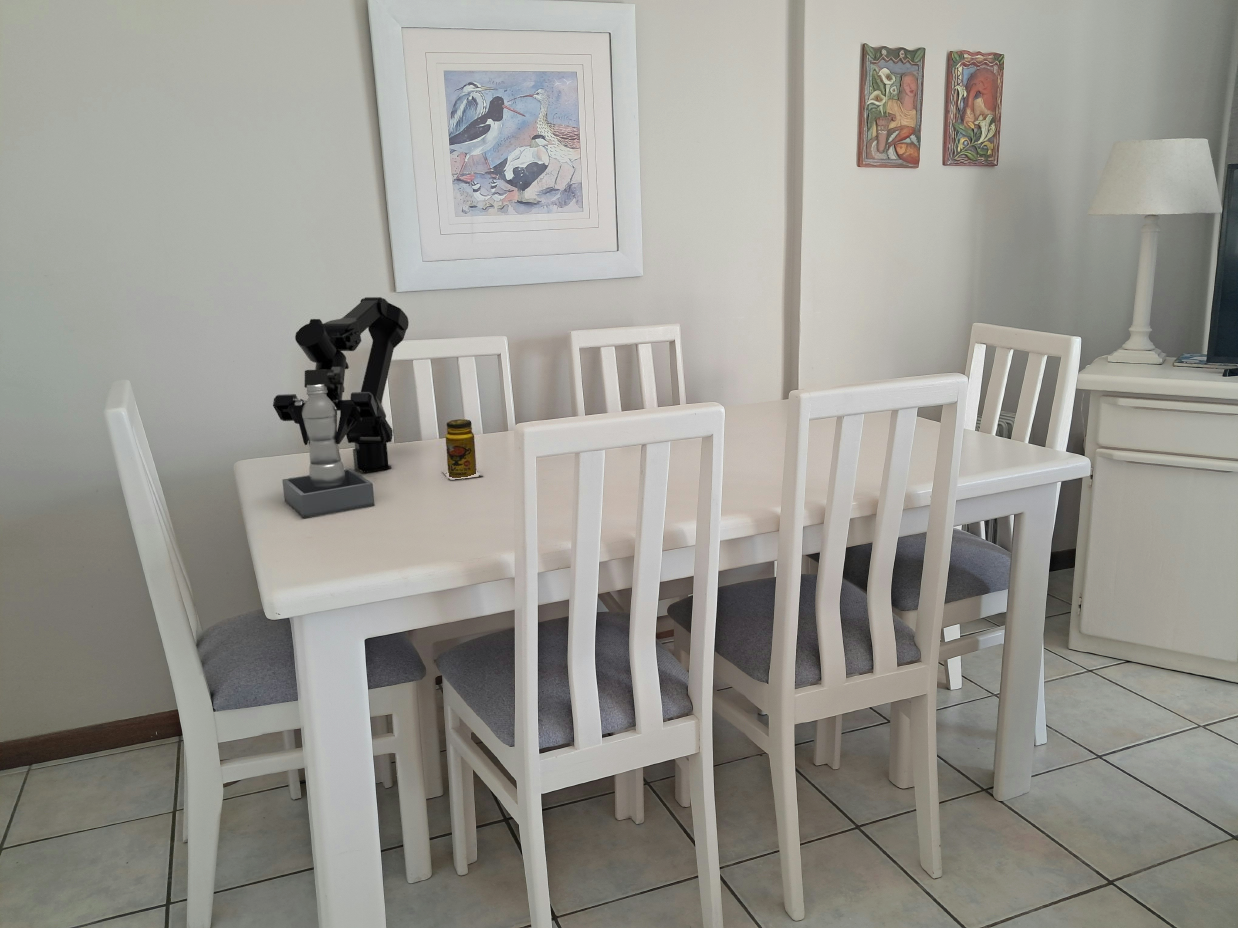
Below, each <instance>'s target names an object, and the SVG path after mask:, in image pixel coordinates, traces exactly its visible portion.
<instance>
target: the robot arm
mask: <svg viewBox="0 0 1238 928" xmlns="http://www.w3.org/2000/svg"><path fill="white" fill-rule="evenodd" d="M367 329H368V333H369V335H370V337H371V340H372V343H371V346H370V347H371V348H370V352H369V356H368V359H367V363H366V366H365V367H366V368H365V372H364V377H363V381H362V385H361V387H360V388H361V389H360V391H359V392H358V391H356V392H351V393H350V399H343V393H345V386H344V385H345V384H344V383H345V375H346V370H348V369H349V368H350V365H349V363H348V362H347V356H346V355H345V353H344V352H354V351H356V350H357V348H358V347H359V345H360V344H361V343H362V336H361V335H362V334H363V333H364V332H365V331H366V330H367ZM408 329H409V317H408V315H407V314H406V313H405V312H404V311H403V310H402V308H401V307H398V306H397V305H394V304H392V303H390V302H389V301H387V299H386V298H384V297H380V296H379V297H378V296H374V297H372V296H370V297H369V296H368V297H367V296H366V297H364V298H361V300H360V301H359V303H358V304H357V305H356V306H355V307H354V308H352V309H351V310H350V311H349V312H347V313H346V314H345V315H344V316H342V317H341V318H338V319H337V318H336V319H332V320H329V321H326V322H324V323H323V321H322V319H321V318H310V320H309V323H306V324H304V325H303V326H301V327H300V328H298V330H297V331H296V332H295V335H294V339H295V343H297V345H298V346H299V347H300V349H301V350H302V351H303V353H304V354H305V355H306V357H307V358H308V359H309V361H311V362H312V363H315V369H306V370H304V383H303V384H304V386H303V387H304V388H305V389H307V387H306V386H307V385H321V384H324V385H325V386H327V390H328V393H326V394H327V397H328V398H329V399H330V400H331V401H332V402H333V404H334V405H335V407H336V409H337V412H340V413H339V420H338V424H337V436H336V442H337V444H338V445H340V444H341V443H342V441H343V440H344V438H345V437H346V440H347V443H348V444H354V448H353V449H352V454H353V455H352V456H353V467H354V468H355V469H357V470H358V471H359V472H362V473H363V474H365V473H371V472H377V471H383V470H388V469H389V470H390V469H392V465H390V464H389V457H388V445H387V443H391V442H392V440H393V436H394V435H393V428H392V426H391V425H390V424H389V423H388V421H387V419H386V418H387V414H386V412H385V409H384V407H383V403H382V402H383V397H384V393H385V390H386V389H385V388H386V384H387V379H388V375H389V371H390V367H391V362H392V358H393V353H394V350H395V348H396V347H397V346H399V344H401V342H403V340H404V338H405V335H406V332H407V330H408ZM308 397H309V395H308ZM306 401H307V400H304V399H302V398H298V397H297V394H293V393H292V394H291V393H290V394H289V393H288V394H277V395H276V396H275V397H274V398H273V401H272V402H273V404H272V406H273V408H274V410H275V412H276V414H277V416H278V417H279V420H280V421H282V422H290V421H291V422H292V421H293V422H294V424H297V425H298V426H299V430H300V433H301V438H302V441H303V444H304V446H308V445H309V443H308V442H309V440H308V437H307V432H306V428H305V425H304V421H303V418H302V408H303V406H304V404H305V402H306Z"/></svg>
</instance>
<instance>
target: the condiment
mask: <svg viewBox="0 0 1238 928" xmlns="http://www.w3.org/2000/svg"><path fill="white" fill-rule="evenodd" d="M472 424H473V423H472V421H471V420H470V419H465V418H463V419H462V418H461V419H452V420H449V421H447V422H446V432H447V433H446V434H445V446H446V448H445V449H446V465H447V471H448V473H449V477H452V478H461V477H468V476H471V475H474V474H476V470H477V457H476V443H475V434H474V432H473V427H472V426H473V425H472ZM445 474H447V472H446V473H445Z"/></svg>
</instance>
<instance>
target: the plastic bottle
mask: <svg viewBox="0 0 1238 928" xmlns="http://www.w3.org/2000/svg"><path fill="white" fill-rule="evenodd" d="M306 387H307V388H306V395H309V396H308V398H307V400H305V401H306V402H305V404H304V406H303V408H302V418H303V421H304V425H305V428H306V432H307V437H308V447H309V448H308V449H309V467H308V469H309V470H308V471H309V473H308V475H309V476H310V479H311V482H312V484H313V485H314V486H316V487H326V488H329V487H333V486H336V485H339V484H342V483H343V481H344V478H345V467H344V464H343V462H342V458H341V453H340V448H339V444H337V442H336V436H337V430H338V411H337V409H336V407H335V405H334V404H333V402H332V401H331V400H330V399H329V398H328V397H327V394H326V393H328V390H327V386H325V385H324V384H321V385H307V386H306Z"/></svg>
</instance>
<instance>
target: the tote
mask: <svg viewBox="0 0 1238 928" xmlns="http://www.w3.org/2000/svg"><path fill="white" fill-rule="evenodd" d="M344 470H345V478H344V481H343V483H342V484H339V485H336V486H333V487H329V488H326V487H316V486H314V485H313V484H312V482H311V479H310V476H309V474H308V475H301V476H296V477H289V478H284V479H281V482H282V488H283V498H284V499H283V500H284V502H285V503H286V505H288V506H289V507H290V508H291V509H292V510H294V511H295V513H297V514H298V515H299V516H300V517H301V518H302V519H309V518H313V517H320V516H326V515H330V514H337V513H341V512H346V511H352V510H353V511H354V510H358V509H363V508H369V507H374V506H375V505H376V504H375V494H374V493H375V492H374V491H375V490H374V483H373V482H372V481H370V480H369V479H367V478H365V477H364V476H363V475H361V474H360V473H358V472H356V471H355V470H353V469H352V468H344ZM375 507H376V506H375Z"/></svg>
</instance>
